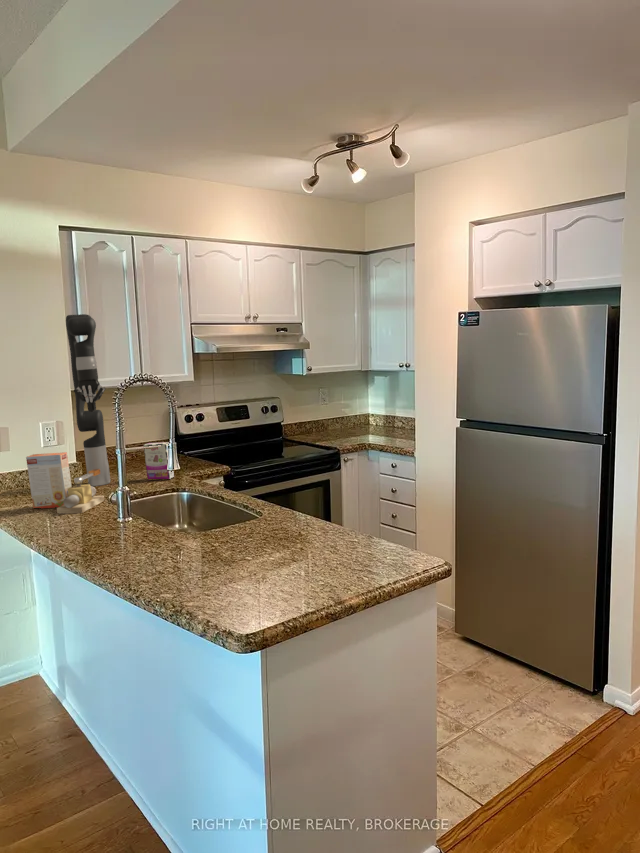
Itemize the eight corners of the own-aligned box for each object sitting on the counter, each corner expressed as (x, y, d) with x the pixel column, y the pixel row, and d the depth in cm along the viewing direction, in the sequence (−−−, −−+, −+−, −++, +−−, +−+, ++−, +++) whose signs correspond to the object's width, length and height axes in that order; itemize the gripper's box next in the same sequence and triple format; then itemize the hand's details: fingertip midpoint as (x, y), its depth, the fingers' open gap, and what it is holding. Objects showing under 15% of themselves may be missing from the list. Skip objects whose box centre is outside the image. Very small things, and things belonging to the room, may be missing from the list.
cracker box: (74, 503, 248) (67, 451, 245) (67, 507, 242) (60, 454, 239) (41, 505, 249) (33, 453, 246) (32, 509, 243) (25, 456, 240)
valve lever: (80, 484, 238) (79, 478, 238) (73, 484, 239) (72, 478, 238) (100, 474, 254) (100, 469, 254) (94, 474, 255) (93, 469, 255)
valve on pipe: (81, 501, 250) (78, 479, 249) (104, 500, 249) (101, 478, 248) (57, 513, 234) (54, 490, 232) (82, 512, 232) (79, 489, 231)
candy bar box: (174, 477, 283) (171, 441, 281) (169, 480, 278) (165, 443, 276) (152, 477, 286) (148, 442, 284) (147, 480, 281) (142, 444, 279)
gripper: (107, 366, 251) (112, 409, 254) (76, 368, 253) (81, 411, 256) (97, 367, 244) (103, 411, 246) (66, 369, 246) (72, 413, 248)
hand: (92, 411), depth 251 cm, fingers closed
